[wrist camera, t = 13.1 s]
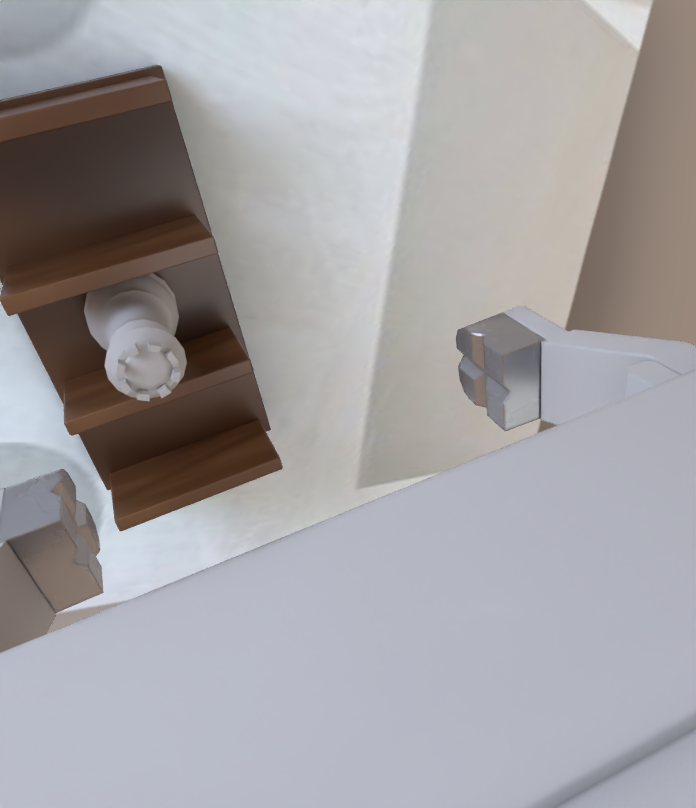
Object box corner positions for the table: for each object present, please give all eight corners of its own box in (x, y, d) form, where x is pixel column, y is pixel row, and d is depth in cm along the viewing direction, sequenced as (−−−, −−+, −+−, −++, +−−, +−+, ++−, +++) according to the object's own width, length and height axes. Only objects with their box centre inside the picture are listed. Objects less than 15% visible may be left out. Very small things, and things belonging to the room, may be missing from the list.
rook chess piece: (190, 285, 33) (222, 344, 26) (156, 360, 34) (179, 434, 27) (103, 249, 30) (115, 304, 24) (69, 331, 31) (72, 404, 25)
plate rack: (-77, 117, 26) (-105, 131, 22) (157, 64, 29) (176, 67, 24) (106, 479, 37) (112, 540, 33) (265, 420, 40) (293, 469, 35)
